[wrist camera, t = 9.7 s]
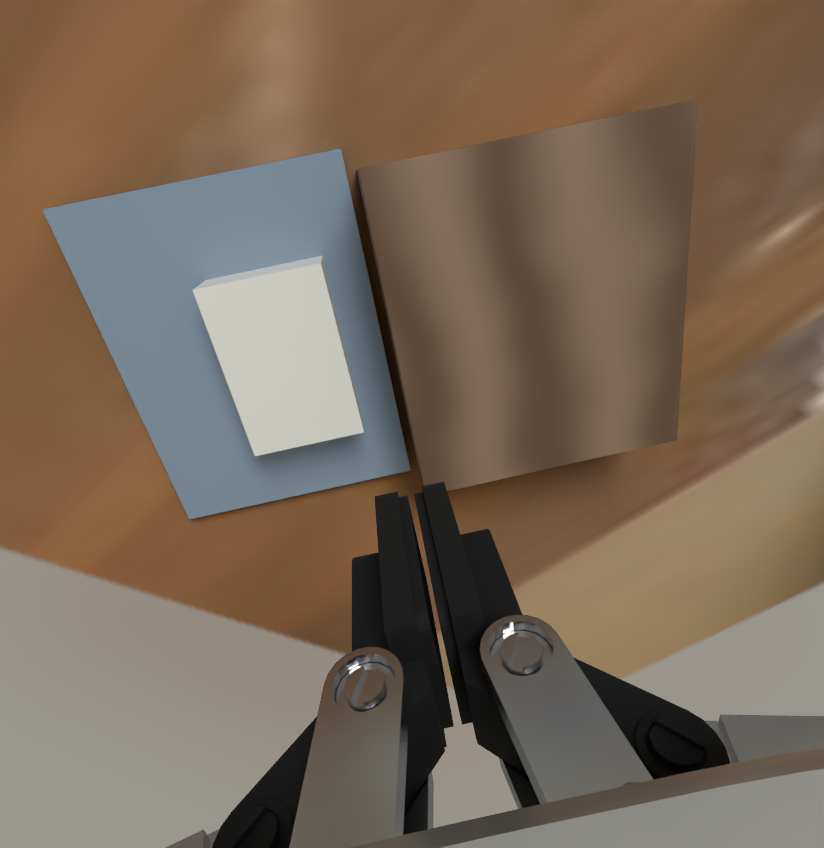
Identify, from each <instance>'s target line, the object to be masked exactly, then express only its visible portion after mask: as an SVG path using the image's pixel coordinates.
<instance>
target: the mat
mask: <svg viewBox="0 0 824 848" xmlns="http://www.w3.org/2000/svg"><path fill="white" fill-rule="evenodd" d="M43 212H44V214H45V216H46V219H47V221H48V223H49V225H50V227H51V229H52V231H53V233H54V235H55V237H56V240H57V242H58V244H59V246H60V248H61V250H62V252H63V254H64V256H65V259H66V261H67V263H68V265H69V267H70V269H71V271H72V273H73V275H74V278H75V280H76V282H77V284H78V286H79V288H80V290H81V292H82V294H83V296H84V299H85V301H86V303H87V305H88V307H89V309H90V311H91V313H92V315H93V318H94V320H95V322H96V324H97V326H98V328H99V330H100V332H101V334H102V336H103V339H104V341H105V343H106V345H107V347H108V349H109V351H110V353H111V355H112V358H113V360H114V362H115V364H116V366H117V368H118V370H119V372H120V374H121V377H122V379H123V381H124V383H125V385H126V387H127V389H128V391H129V393H130V395H131V398H132V400H133V402H134V404H135V406H136V408H137V410H138V412H139V414H140V417H141V419H142V421H143V423H144V425H145V427H146V429H147V431H148V433H149V435H150V438H151V440H152V442H153V444H154V446H155V448H156V450H157V452H158V454H159V457H160V459H161V461H162V463H163V465H164V467H165V469H166V471H167V473H168V475H169V478H170V480H171V482H172V484H173V486H174V488H175V490H176V492H177V494H178V497H179V499H180V501H181V503H182V505H183V507H184V509H185V511H186V513H187V516H188V518H189V519H194V518H198V517H203V516H207V515H212V514H216V513H221V512H225V511H230V510H234V509H239V508H243V507H248V506H253V505H257V504H262V503H266V502H271V501H275V500H280V499H284V498H289V497H293V496H298V495H302V494H307V493H311V492H316V491H320V490H325V489H329V488H334V487H338V486H343V485H347V484H352V483H356V482H361V481H365V480H370V479H374V478H379V477H383V476H388V475H392V474H397V473H401V472H406V471H410V465H409V461H408V456H407V451H406V447H405V442H404V437H403V433H402V428H401V424H400V419H399V414H398V410H397V405H396V401H395V396H394V391H393V387H392V382H391V378H390V373H389V368H388V364H387V359H386V354H385V350H384V345H383V341H382V336H381V331H380V327H379V322H378V318H377V313H376V308H375V304H374V299H373V295H372V290H371V285H370V281H369V276H368V271H367V267H366V262H365V258H364V253H363V248H362V244H361V239H360V235H359V230H358V225H357V221H356V216H355V212H354V207H353V202H352V198H351V193H350V188H349V184H348V179H347V175H346V170H345V165H344V161H343V156H342V152H341V149H337V150H332V151H327V152H322V153H317V154H312V155H307V156H303V157H298V158H293V159H288V160H283V161H278V162H273V163H268V164H263V165H258V166H253V167H249V168H244V169H239V170H234V171H229V172H224V173H219V174H214V175H209V176H204V177H200V178H195V179H190V180H185V181H180V182H175V183H170V184H165V185H160V186H155V187H150V188H146V189H141V190H136V191H131V192H126V193H121V194H116V195H111V196H106V197H101V198H97V199H92V200H87V201H82V202H77V203H72V204H67V205H62V206H57V207H52V208H47V209H43ZM318 256H323V258H324V262H325V266H326V270H327V274H328V278H329V282H330V286H331V290H332V294H333V298H334V302H335V306H336V310H337V314H338V318H339V322H340V326H341V330H342V334H343V337H344V341H345V345H346V349H347V353H348V357H349V361H350V365H351V369H352V373H353V377H354V381H355V385H356V389H357V393H358V397H359V401H360V405H361V409H362V413H363V424H364V433H359V434H355V435H350V436H346V437H341V438H336V439H332V440H327V441H323V442H318V443H314V444H309V445H305V446H300V447H295V448H291V449H286V450H282V451H277V452H273V453H268V454H263V455H259V456H255V455H254V453H253V450H252V448H251V445H250V442H249V440H248V437H247V434H246V432H245V429H244V426H243V424H242V421H241V418H240V416H239V413H238V410H237V408H236V405H235V402H234V400H233V397H232V394H231V392H230V389H229V386H228V384H227V381H226V378H225V376H224V373H223V370H222V368H221V365H220V362H219V360H218V357H217V354H216V352H215V349H214V346H213V344H212V341H211V338H210V336H209V333H208V330H207V328H206V325H205V322H204V320H203V317H202V314H201V312H200V309H199V307H198V304H197V301H196V299H195V296H194V293H193V291H192V290H193V289H194V288H196V287H197V286H198V285H200V284H201V283H202V282H204V281H205V280H209V279H213V278H218V277H223V276H228V275H232V274H237V273H242V272H247V271H252V270H256V269H261V268H266V267H271V266H275V265H280V264H285V263H290V262H295V261H299V260H304V259H309V258H314V257H318Z"/></svg>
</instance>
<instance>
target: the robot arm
mask: <svg viewBox="0 0 824 848" xmlns="http://www.w3.org/2000/svg"><path fill="white" fill-rule="evenodd" d="M422 489H423V492H422V493H418V494H414V495H415V500H416V505H417V510H418V515H419V521H420V526H421V531H422V536H423V541H424V546H425V551H426V556H427V562H428V567H429V572H430V577H431V582H432V587H433V592H434V597H435V602H436V608H437V612H438V617H439V622H440V627H441V631H442V636H443V640H444V645H445V649H446V654H447V658H448V663H449V667H450V672H451V676H452V681H453V685H454V690H455V694H456V699H457V703H458V708H459V712H460V717H461V721H462V724H466V723H471V722H473V726H474V730H475V734H476V739H477V742H478V744H479V745H481V746H482V747H484V748H485V749H487V750H489V751H490V752H492V753H493V754H495V755H496V756H498V757H499V759H500V764H501V767H502V770H503V773H504V775H505V777H506V780H507V782H508V785H509V787H510V790H511V792H512V795H513V797H514V800H515V802H516V805H517V807H518V809H517V810H513V811H508V812H504V813H500V814H495V815H490V816H486V817H481V818H477V819H473V820H468V821H463V822H459V823H455V824H450V825H446V826H442V827H437V828H433V776H432V770H433V768H434V767H435V765H436V764H437V762H438V760H439V759H440V757H441V756H442V755H443V753H444V751H445V749H444V747H446V741H445V734H444V728H448V727H453V720H452V714H451V709H450V704H449V698H448V693H447V687H446V682H445V676H444V671H443V665H442V660H441V655H440V649H439V644H438V638H437V633H436V628H435V622H434V617H433V611H432V606H431V600H430V595H429V590H428V585H427V580H426V576H425V571H424V567H423V563H422V558H421V554H420V549H419V545H418V541H417V536H416V532H415V527H414V523H413V518H412V514H411V510H410V505H409V501H408V497H407V496H404V497H399V496H398V492H393V493H389V494H384V495H379V496H375V507H376V522H377V536H378V550H379V553H374V554H369V555H365V556H360V557H356V558H353V560H352V652H350V653H348V654H346V655H345V656H344V657H342V658H341V659H340V660H339V661H338V662H336V663H335V665H334V666H333V667H332V669H331V670H330V672H329V673H328V675H327V678H326V681H325V683H324V687H323V692H322V697H321V701H320V706H319V710H318V715H317V717H316V718H315V719H314V721H313V722H312V723H311V724H310V725H309V726H308V727H307V728H306V729H305V731H304V732H303V733H302V734H301V735H300V736H299V737H298V738H297V740H296V741H295V742H294V743H293V744H292V745H291V746H290V747H289V748H288V750H287V751H286V752H285V753H284V754H283V755H282V756H281V757H280V758H279V760H278V761H277V762H276V763H275V764H274V765H273V767H271V769H270V770H269V771H268V772H267V773H266V774H265V775H264V776H263V777H262V779H261V780H260V781H259V782H258V783H257V784H256V785H255V787H254V788H253V789H252V790H251V791H250V792H249V793H248V794H247V795H246V796H245V798H244V799H243V800H242V801H241V802H240V803H239V804H238V805H237V807H236V808H235V809H234V810H233V811H232V812H231V813H230V815H229V816H228V818H227V819H226V820H225V822H224V823H223V824H222V826H221V827H220V829H219V830H217V831H215V832H213V833H210V834H208V835H207V834H206V832H205V831H204V830H202V831H200V832H198V833H195V834H193V835H191V836H189V837H187V838H185V839H183V840H181V841H179V842H177V843H175V844H173V845H170V846H168V847H167V848H824V717H823V716H822V717H820V716H764V715H763V716H762V715H761V716H760V715H720V718H719V721H704V720H702V719H701V718H699V717H698V716H696V715H694V714H693V713H691V712H689V711H688V710H685V709H683V708H681V707H679V706H677V705H675V704H672V703H670V702H668V701H666V700H664V699H662V698H660V697H657V696H655V695H653V694H651V693H649V692H646V691H644V690H642V689H640V688H638V687H636V686H634V685H631V684H629V683H627V682H625V681H623V680H621V679H618V678H616V677H614V676H612V675H610V674H608V673H606V672H603V671H601V670H599V669H597V668H595V667H593V666H590V665H588V664H586V663H584V662H582V661H580V660H577V659H575V658H573V656H572V655H571V653H570V652H569V650H568V649H567V647H566V646H565V644H564V643H563V641H562V640H561V638H560V637H559V635H558V634H557V632H556V631H555V630H554V629H553V628H552V627H551V626H550V625H549V624H547V623H546V622H544V621H542V620H541V619H539V618H535V617H532V616H529V615H522V613H521V610H520V608H519V605H518V602H517V600H516V597H515V595H514V592H513V589H512V587H511V584H510V582H509V579H508V577H507V574H506V571H505V569H504V566H503V564H502V561H501V559H500V556H499V553H498V551H497V548H496V546H495V543H494V540H493V538H492V535H491V533H490V531H489V530H488V529H485V530H481V531H476V532H471V533H467V534H462V535H460V533H459V530H458V526H457V523H456V520H455V516H454V513H453V510H452V506H451V503H450V500H449V496H448V493H447V490H446V486H445V483H444V482H440V483H435V484H431V485H426V486H422Z"/></svg>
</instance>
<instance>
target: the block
mask: <svg viewBox="0 0 824 848" xmlns="http://www.w3.org/2000/svg"><path fill="white" fill-rule="evenodd" d="M192 291H193V293H194V296H195V299H196V301H197V304H198V307H199V309H200V312H201V314H202V317H203V320H204V322H205V325H206V328H207V330H208V333H209V336H210V338H211V341H212V344H213V346H214V349H215V352H216V354H217V357H218V360H219V362H220V365H221V368H222V370H223V373H224V376H225V378H226V381H227V384H228V386H229V389H230V392H231V394H232V397H233V400H234V402H235V405H236V408H237V410H238V413H239V416H240V418H241V421H242V424H243V426H244V429H245V432H246V434H247V437H248V440H249V442H250V445H251V448H252V450H253V453H254V455H255V456H259V455H263V454H268V453H273V452H277V451H282V450H286V449H291V448H295V447H300V446H305V445H309V444H314V443H318V442H323V441H327V440H332V439H336V438H341V437H346V436H350V435H355V434H359V433H364V424H363V413H362V409H361V405H360V401H359V397H358V393H357V389H356V385H355V381H354V377H353V373H352V369H351V365H350V361H349V357H348V353H347V349H346V345H345V341H344V337H343V334H342V330H341V326H340V322H339V318H338V314H337V310H336V306H335V302H334V298H333V294H332V290H331V286H330V282H329V278H328V274H327V270H326V266H325V262H324V258H323V256H318V257H314V258H309V259H304V260H299V261H295V262H290V263H285V264H280V265H275V266H271V267H266V268H261V269H256V270H252V271H247V272H242V273H237V274H232V275H228V276H223V277H218V278H213V279H209V280H205V281H204V282H202V283H201V284H200V285H198V286H197V287H196V288H194V289H193V290H192Z"/></svg>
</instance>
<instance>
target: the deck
mask: <svg viewBox="0 0 824 848" xmlns="http://www.w3.org/2000/svg"><path fill="white" fill-rule="evenodd" d="M697 105H698V99H697V100H692V101H687V102H682V103H677V104H672V105H668V106H663V107H658V108H653V109H648V110H643V111H638V112H633V113H629V114H624V115H619V116H614V117H609V118H604V119H599V120H594V121H590V122H585V123H580V124H575V125H570V126H565V127H560V128H555V129H551V130H546V131H541V132H536V133H531V134H526V135H521V136H516V137H512V138H507V139H502V140H497V141H492V142H487V143H482V144H477V145H473V146H468V147H463V148H458V149H453V150H448V151H443V152H438V153H434V154H429V155H424V156H419V157H414V158H409V159H404V160H399V161H395V162H390V163H385V164H380V165H375V166H370V167H365V168H361V169H357V170H356V172H357V177H358V182H359V187H360V192H361V196H362V201H363V206H364V211H365V216H366V220H367V225H368V230H369V235H370V240H371V244H372V249H373V254H374V259H375V264H376V268H377V273H378V278H379V283H380V288H381V292H382V297H383V302H384V307H385V312H386V316H387V321H388V326H389V331H390V336H391V340H392V345H393V350H394V355H395V359H396V364H397V369H398V374H399V379H400V383H401V388H402V393H403V398H404V403H405V407H406V412H407V417H408V422H409V427H410V431H411V436H412V441H413V446H414V451H415V455H416V459H417V462H418V466H419V470H420V474H421V478H422V482H423V486H426V485H431V484H435V483H440V482H444V483H445V486H446V490H447V491H451V490H455V489H460V488H464V487H469V486H473V485H478V484H482V483H487V482H491V481H496V480H500V479H505V478H509V477H514V476H518V475H523V474H527V473H532V472H536V471H540V470H545V469H549V468H554V467H558V466H563V465H567V464H572V463H576V462H581V461H585V460H590V459H594V458H599V457H603V456H608V455H612V454H617V453H621V452H626V451H630V450H635V449H639V448H644V447H648V446H652V445H657V444H661V443H666V442H670V441H675V440H677V428H678V412H679V396H680V379H681V363H682V347H683V331H684V315H685V299H686V282H687V266H688V250H689V234H690V218H691V202H692V185H693V169H694V153H695V137H696V121H697Z"/></svg>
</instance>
